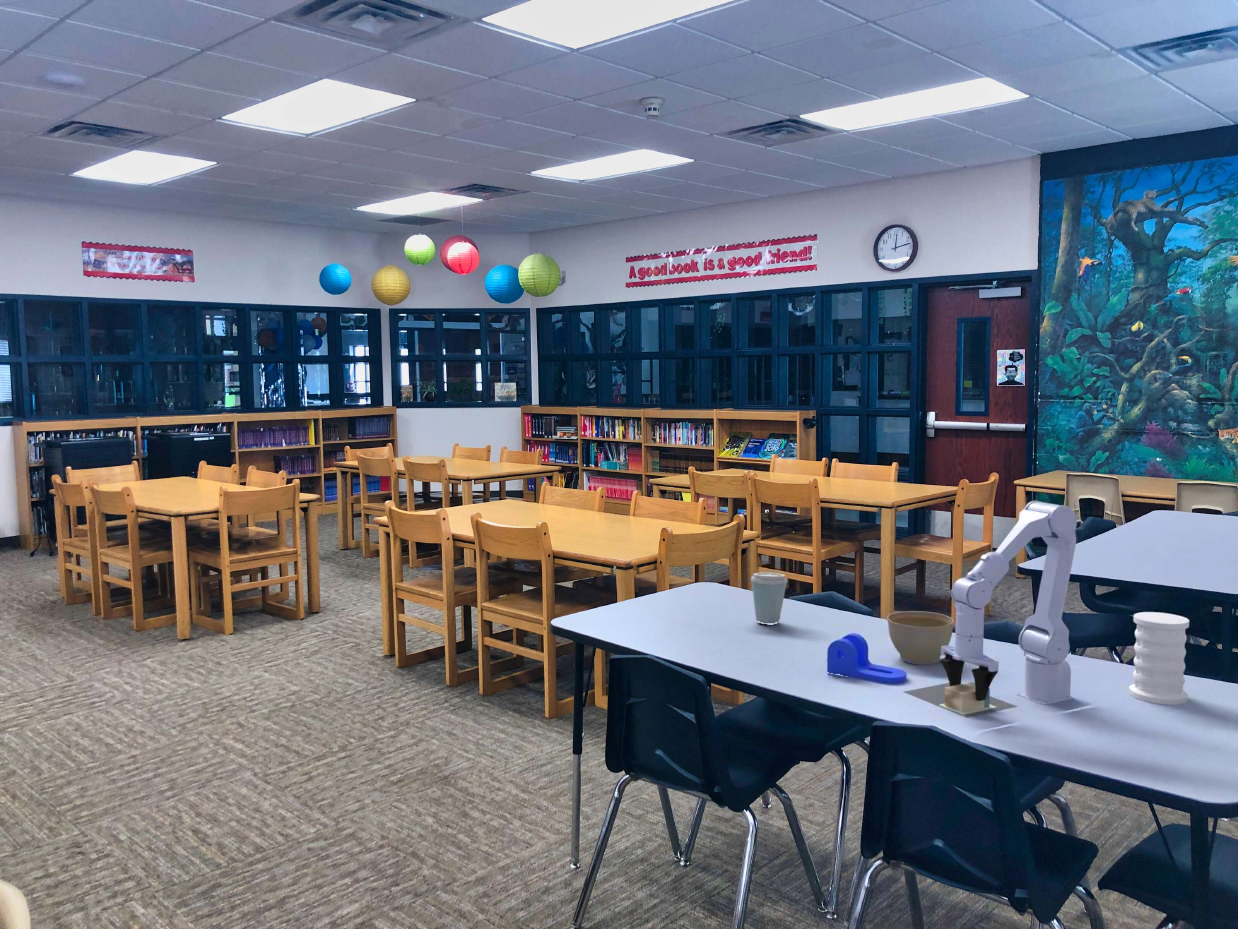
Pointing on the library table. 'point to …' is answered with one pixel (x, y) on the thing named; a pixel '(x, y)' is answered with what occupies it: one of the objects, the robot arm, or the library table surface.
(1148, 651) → the decorative container
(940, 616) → the planter bowl
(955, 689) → the birch block
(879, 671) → the bracket
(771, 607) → the disposable coffee cup
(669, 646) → the library table surface
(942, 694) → the rubber mat
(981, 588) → the robot arm
